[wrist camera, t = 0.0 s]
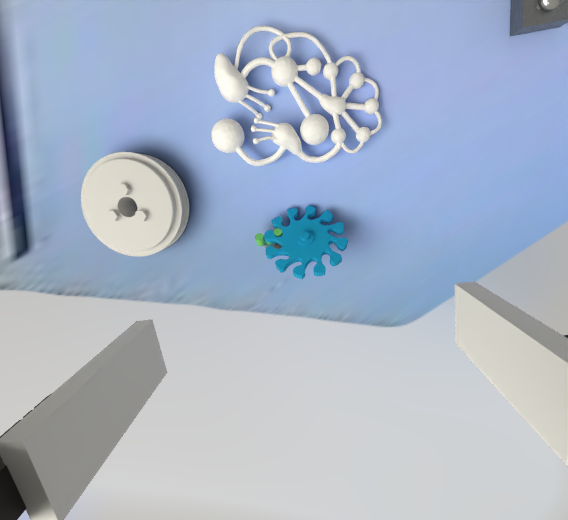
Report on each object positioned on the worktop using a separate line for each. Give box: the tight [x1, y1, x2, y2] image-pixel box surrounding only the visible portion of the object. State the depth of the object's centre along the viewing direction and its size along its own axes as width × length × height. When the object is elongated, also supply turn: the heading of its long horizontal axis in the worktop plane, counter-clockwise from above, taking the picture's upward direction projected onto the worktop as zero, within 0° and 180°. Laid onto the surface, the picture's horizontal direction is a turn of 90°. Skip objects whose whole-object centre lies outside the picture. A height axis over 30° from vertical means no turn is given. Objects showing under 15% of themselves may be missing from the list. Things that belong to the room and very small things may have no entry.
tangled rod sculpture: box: [212, 26, 382, 166], centre depth 35 cm, size 19×14×4 cm
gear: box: [255, 206, 348, 279], centre depth 39 cm, size 11×6×10 cm
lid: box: [81, 152, 189, 256], centre depth 39 cm, size 13×13×5 cm
